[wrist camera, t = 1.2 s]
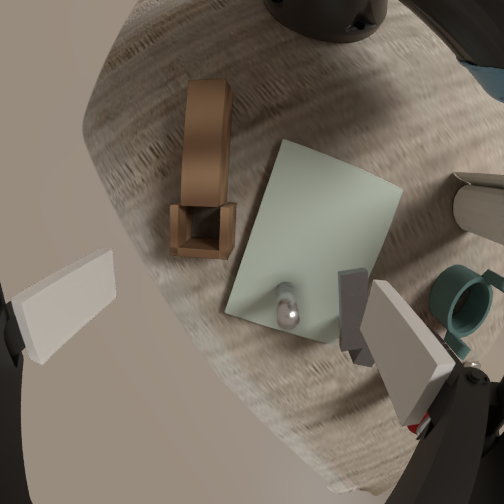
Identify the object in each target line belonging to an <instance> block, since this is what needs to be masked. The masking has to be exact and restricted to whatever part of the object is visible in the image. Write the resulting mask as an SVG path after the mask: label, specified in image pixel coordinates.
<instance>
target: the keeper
mask: <svg viewBox="0 0 504 504" xmlns="http://www.w3.org/2000/svg"><path fill="white" fill-rule="evenodd" d="M338 289H339V346H340V349H341V352H342V351H349V354H350V356H351V359H352V361H353V364H358V365H363V366H368V367H372V366H373V364H374V362H375V361H374V359H373V356H372V354H371V352H370V350H369V348H368V345H367V343H366V341H365V339H364V337H363V335H362V332H361V330H360V326H361V323H362V320H363V316H364V313H365V309H366V306H367V302H368V271H367V270H366V269H365V268H357V269H350V270H344V271H338Z"/></svg>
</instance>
